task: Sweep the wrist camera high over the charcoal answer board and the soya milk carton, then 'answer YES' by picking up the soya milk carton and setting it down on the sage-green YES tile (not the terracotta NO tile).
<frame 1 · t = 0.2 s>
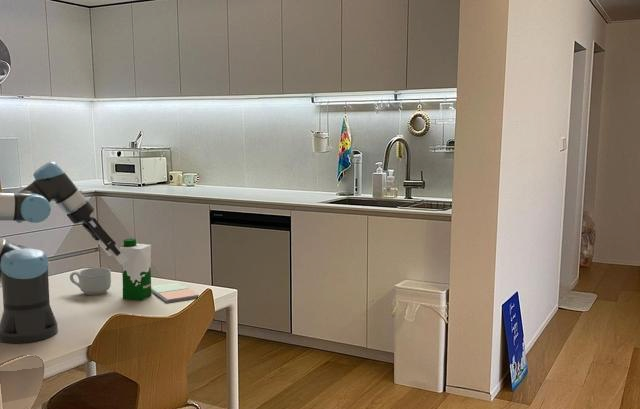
hand: (118, 257, 195), 16 cm above the table, tool tilted 35°, fingers open, 13 cm apart
teacup: (91, 293, 212), on the table
soya milk: (137, 297, 207), on the table
answer board: (173, 293, 212), on the table
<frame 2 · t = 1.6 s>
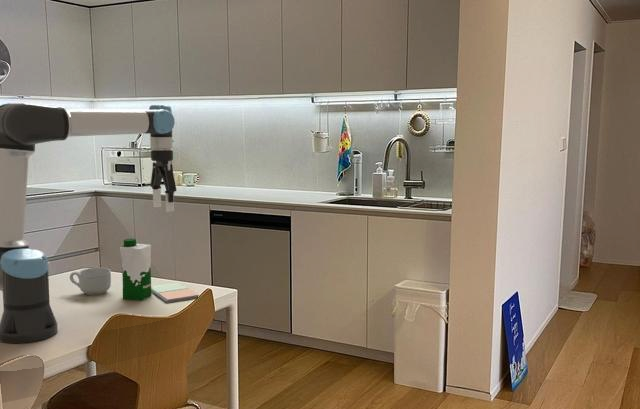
hand: (163, 209, 215), 29 cm above the table, tool pointing down, fingers open, 13 cm apart
nothing on the table moved.
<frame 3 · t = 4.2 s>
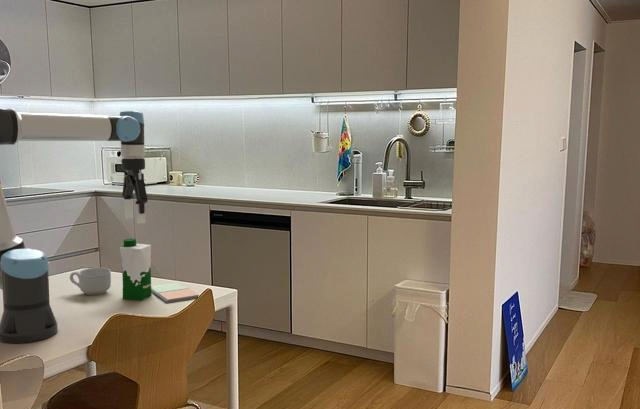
hand: (135, 220, 204), 27 cm above the table, tool pointing down, fingers open, 13 cm apart
nothing on the table moved.
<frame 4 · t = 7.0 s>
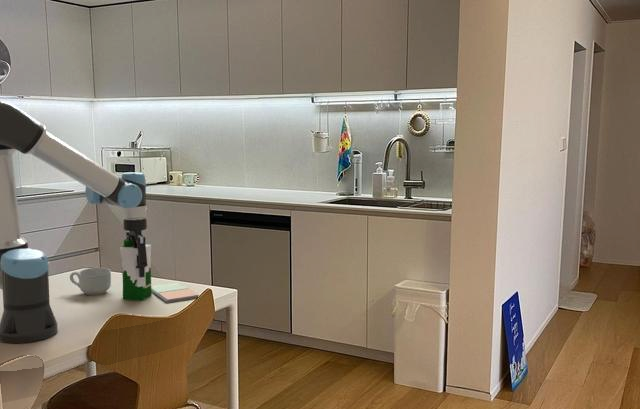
hand: (137, 283, 207), 5 cm above the table, tool pointing down, fingers closed on soya milk, 9 cm apart
soya milk: (137, 297, 207), on the table, touching gripper
everything else where it was.
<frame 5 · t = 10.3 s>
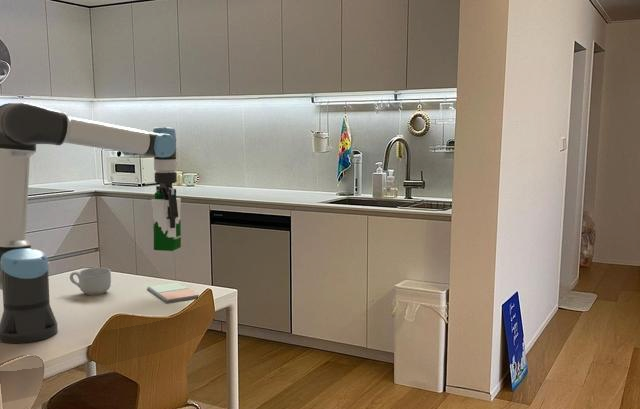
hand: (167, 234, 214), 20 cm above the table, tool pointing down, fingers closed on soya milk, 9 cm apart
soya milk: (167, 249, 214), point 15 cm above the table, touching gripper
everything else where it was.
when the fingers open (7 cm above the table, at t = 13.4 s): soya milk drops 1 cm, resting on answer board.
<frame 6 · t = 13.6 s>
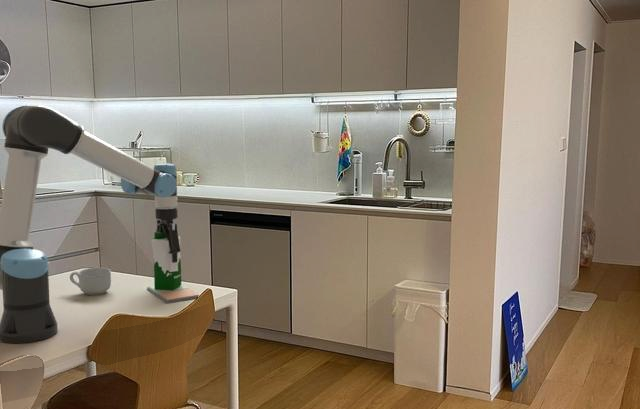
hand: (167, 267, 215), 8 cm above the table, tool pointing down, fingers open, 12 cm apart
soya milk: (168, 287, 216), point 1 cm above the table, touching answer board
everything else where it was.
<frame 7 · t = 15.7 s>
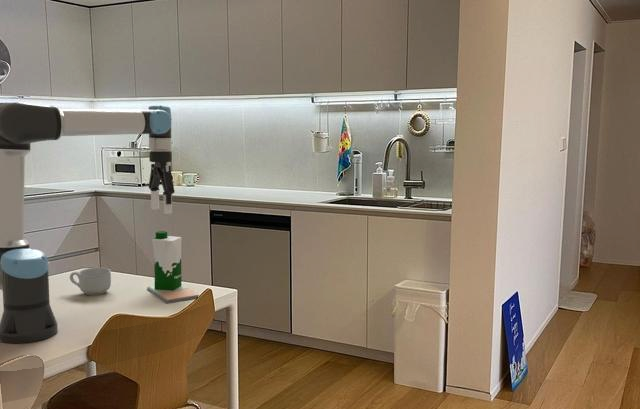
hand: (161, 211, 212), 29 cm above the table, tool pointing down, fingers open, 13 cm apart
nothing on the table moved.
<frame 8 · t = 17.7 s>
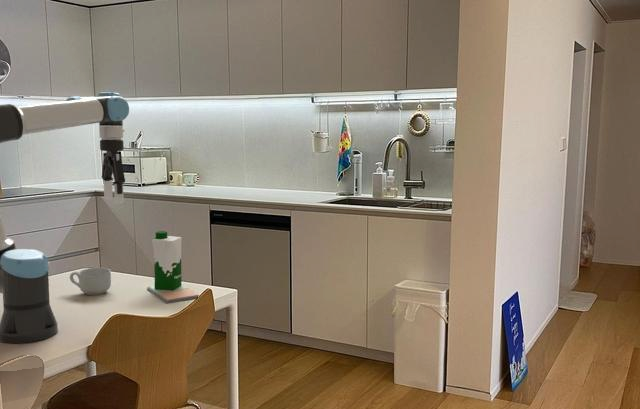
hand: (113, 201, 206), 33 cm above the table, tool pointing down, fingers open, 13 cm apart
nothing on the table moved.
at the end: soya milk inside the target area (0.7 cm from its centre), point 0.9 cm above the table; soya milk tilted 0°; the gripper is holding nothing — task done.
